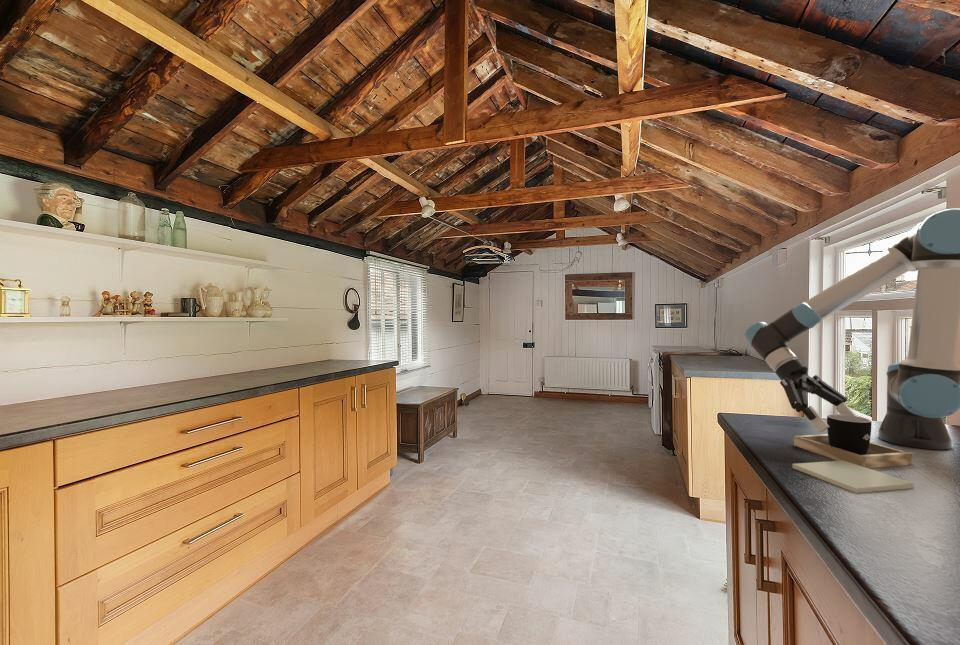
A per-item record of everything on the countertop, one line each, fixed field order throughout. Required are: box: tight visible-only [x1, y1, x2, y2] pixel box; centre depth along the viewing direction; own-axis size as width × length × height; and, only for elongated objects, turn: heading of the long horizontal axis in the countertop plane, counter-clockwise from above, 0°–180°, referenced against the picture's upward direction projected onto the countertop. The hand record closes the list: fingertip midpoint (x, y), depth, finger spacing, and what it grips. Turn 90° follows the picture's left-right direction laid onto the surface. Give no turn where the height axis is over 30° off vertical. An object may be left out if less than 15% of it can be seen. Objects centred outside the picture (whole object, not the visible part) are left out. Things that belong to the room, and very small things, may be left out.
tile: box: [791, 460, 915, 494], centre depth 99 cm, size 15×15×1 cm
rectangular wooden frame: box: [793, 433, 913, 469], centre depth 115 cm, size 15×18×3 cm
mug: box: [826, 413, 873, 455], centre depth 115 cm, size 12×9×10 cm
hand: (841, 427), depth 116 cm, fingers open, 13 cm apart
